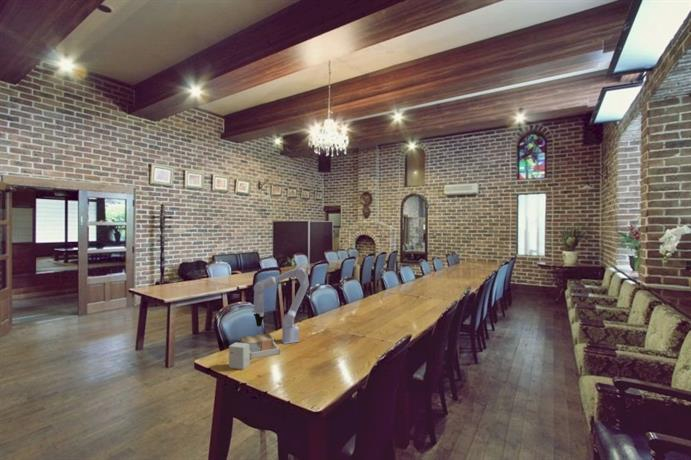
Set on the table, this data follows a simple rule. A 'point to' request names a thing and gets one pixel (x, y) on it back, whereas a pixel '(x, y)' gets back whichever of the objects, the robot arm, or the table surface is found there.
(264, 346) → the terracotta tile
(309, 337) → the table surface
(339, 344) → the table surface
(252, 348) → the slate tile
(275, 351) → the tray
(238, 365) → the small box
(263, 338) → the bench plate
